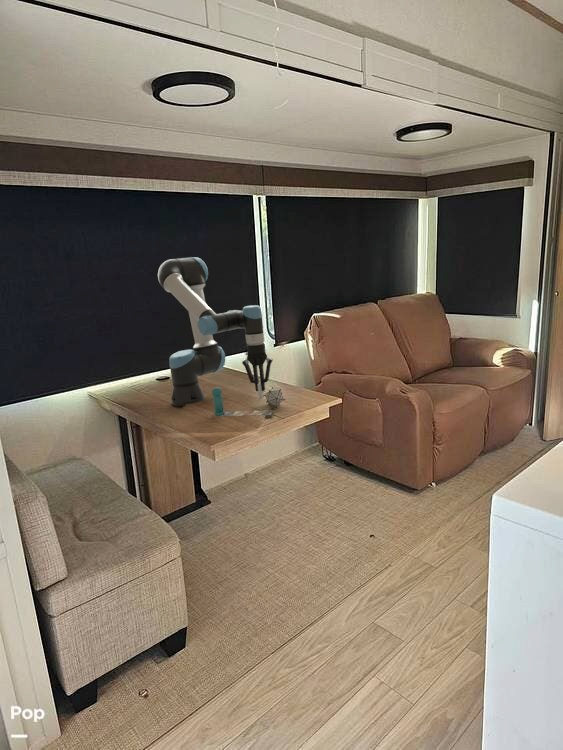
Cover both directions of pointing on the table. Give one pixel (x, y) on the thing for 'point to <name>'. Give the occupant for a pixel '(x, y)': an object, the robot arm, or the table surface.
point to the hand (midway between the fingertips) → (261, 398)
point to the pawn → (218, 401)
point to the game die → (274, 397)
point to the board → (249, 413)
